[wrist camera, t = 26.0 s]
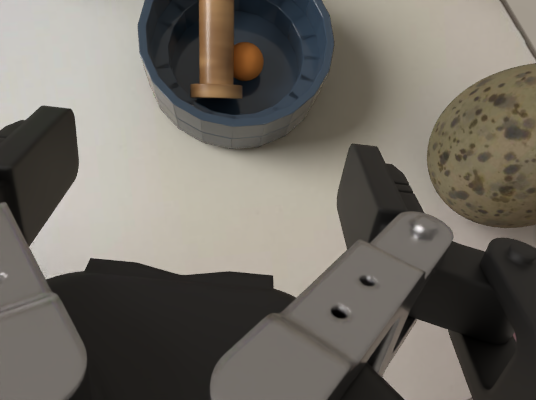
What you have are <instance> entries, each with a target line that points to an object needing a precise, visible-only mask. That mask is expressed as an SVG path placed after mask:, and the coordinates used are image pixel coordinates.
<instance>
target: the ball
mask: <svg viewBox="0 0 536 400" xmlns="http://www.w3.org/2000/svg"><path fill="white" fill-rule="evenodd" d="M263 64H264V59H263V55H262V53H261V51H260V49H259V48H258V47H257V46H255V45H254V44H252V43H249V42H241V43H238V44H236V45H234V78H236V79H238V80H241V81H250V80H252V79H254V78H256V77H257V76H258V75H259V74H260V73H261V71H262V69H263Z"/></svg>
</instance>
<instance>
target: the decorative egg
mask: <svg viewBox="0 0 536 400" xmlns="http://www.w3.org/2000/svg"><path fill="white" fill-rule="evenodd" d="M427 165H428V171H429V175H430V178H431V181H432V183H433V186H434V188H435V189H436V191H437V193H438V194H439V196H440V197H441V198H442V200H443V201H444V202H445V203H446V204H447V205H448V206H449V207H450V208H451V209H452V210H454V211H455V212H456V213H458V214H459V215H461V216H463V217H465V218H467V219H469V220H471V221H474V222H476V223H479V224H483V225H487V226H492V227H500V228H516V227H525V226H531V225H535V224H536V63H535V64H528V65H523V66H518V67H514V68H510V69H507V70H504V71H501V72H498V73H496V74H493V75H491V76H488V77H486V78H484V79H482V80H480V81H478V82H477V83H475V84H473V85H472V86H470V87H469V88H467V89H466V90H465V91H463V92H462V93H461V94H460V95H458V96H457V97H456V98H455V99H454V100H453V101H452V102H451V103H450V104H449V105H448V106H447V107H446V109H445V110H444V111H443V113H442V114H441V116H440V117H439V119H438V120H437V122H436V124H435V126H434V128H433V131H432V133H431V136H430V140H429V144H428V151H427Z"/></svg>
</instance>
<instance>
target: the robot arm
mask: <svg viewBox="0 0 536 400" xmlns="http://www.w3.org/2000/svg"><path fill="white" fill-rule="evenodd" d="M78 166H79V157H78V147H77V137H76V126H75V117H74V113H73V111H72V110H71V109H67V108H59V107H51V106H41V107H40V108H39V109H37V110H36V111H35V112H34V113H33V114H32V115H31V116H30V117H29V118H28V119H26V120H20V121H18V122H15V123H13V124H10V125H8V126H5V127H4V128H3V129H2V130H0V400H404V399H403V398H402V397H401V396H400V395H399V394H398V393H397V392H396V391H395V390H394V389H393V388H392V387H391V386H390V385H389V384H388V383H387V382H386V381H385V380H384V379H383V378H382V376H383V374H384V372H385V370H386V368H387V367H388V365H389V363H390V362H391V360H392V359H393V357H394V356H395V354H396V353H397V351H398V349H399V348H400V346H401V345H402V343H403V342H404V340H405V339H406V337H407V335H408V334H409V332H410V331H411V329H412V328H413V326H414V325H415V323H416V321H417V319H419V320H422V321H425V322H428V323H431V324H434V325H437V326H440V327H442V328H445V329H448V332H449V335H450V338H451V341H452V343H453V346H454V349H455V352H456V354H457V357H458V360H459V363H460V365H461V368H462V371H463V374H464V376H465V379H466V382H467V385H468V387H469V390H470V393H471V395H472V398H473V400H536V248H534V247H532V246H530V245H528V244H526V243H524V242H521V241H518V240H515V239H510V238H496V239H493V240H492V241H491V242H490V243H489V245H488V247H487V249H486V251H485V252H484V251H481V250H478V249H474V248H471V247H468V246H464V245H461V244H458V243H456V242H453V241H452V240H453V233H452V231H451V229H450V228H449V227H448V226H447V225H446V224H445V223H444V222H442V221H441V220H439V219H437V218H435V217H433V216H431V215H428V214H425V213H424V212H423V210H422V208H421V206H420V204H419V202H418V200H417V198H416V196H415V194H413V191H412V189H411V187H410V186H409V183H408V181H407V179H406V177H405V176H404V174H403V173H402V172H401V171H400V170H398V169H397V168H396V167H395V166H394V165H392V164H385V162H384V159H383V157H382V155H381V153H380V151H379V149H378V147H377V146H368V145H360V144H351V146H350V148H349V150H348V154H347V158H346V161H345V165H344V169H343V173H342V177H341V181H340V185H339V189H338V194H337V210H338V214H339V218H340V222H341V226H342V230H343V234H344V238H345V242H346V246H347V251H346V252H345V253H343V254H342V255H341V256H340V257H339V258H338V259H337V260H336V261H335V262H334V263H333V264H332V265H331V266H330V267H329V268H328V269H327V270H326V271H325V272H323V273H322V274H321V275H320V276H319V277H318V278H317V279H316V280H315V281H314V282H313V283H312V284H311V285H310V286H309V287H308V288H307V289H306V290H304V291H303V292H302V293H301V294H300V295H299V296H298V297H297V298H296V297H294V296H292V295H290V294H287V293H285V292H282V291H280V290H276V289H273V276H271V275H261V274H250V273H240V272H230V271H229V272H217V273H205V274H193V275H179V274H175V273H171V272H168V271H164V270H161V269H157V268H154V267H150V266H147V265H143V264H140V263H135V262H125V261H114V260H104V259H93V258H90V261H89V263H88V265H87V267H86V269H85V271H81V272H74V273H68V274H64V275H60V276H56V277H53V278H50V279H47V280H45V278H44V276H43V274H42V272H41V270H40V268H39V266H38V264H37V262H36V260H35V258H34V256H33V254H32V252H31V250H30V248H29V246H30V245H31V243H32V242H33V240H34V239H35V237H36V236H37V235H38V233H39V232H40V230H41V229H42V227H43V226H44V224H45V223H46V221H47V220H48V218H49V217H50V216H51V214H52V213H53V211H54V210H55V208H56V207H57V205H58V204H59V202H60V201H61V199H62V198H63V197H64V195H65V194H66V192H67V191H68V189H69V188H70V186H71V185H72V183H73V182H74V180H75V179H76V176H77V173H78ZM514 332H515V335H516V340H515V338H514V337H513V334H514Z"/></svg>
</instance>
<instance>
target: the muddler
mask: <svg viewBox="0 0 536 400" xmlns="http://www.w3.org/2000/svg"><path fill="white" fill-rule="evenodd" d="M233 83H234V0H199V84H190V97H191V98H223V99H242V91H243V86H241V85H233Z"/></svg>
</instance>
